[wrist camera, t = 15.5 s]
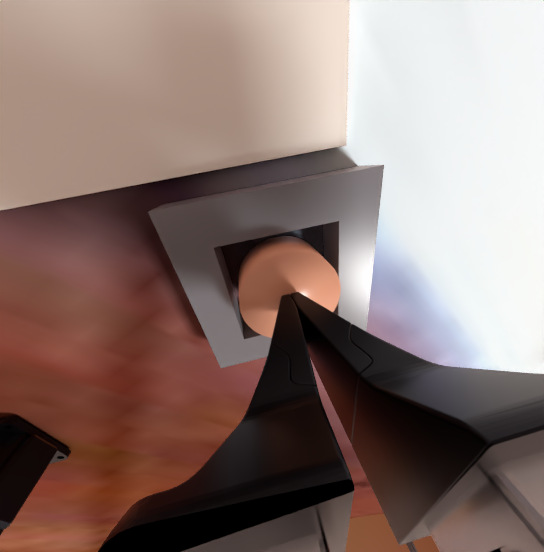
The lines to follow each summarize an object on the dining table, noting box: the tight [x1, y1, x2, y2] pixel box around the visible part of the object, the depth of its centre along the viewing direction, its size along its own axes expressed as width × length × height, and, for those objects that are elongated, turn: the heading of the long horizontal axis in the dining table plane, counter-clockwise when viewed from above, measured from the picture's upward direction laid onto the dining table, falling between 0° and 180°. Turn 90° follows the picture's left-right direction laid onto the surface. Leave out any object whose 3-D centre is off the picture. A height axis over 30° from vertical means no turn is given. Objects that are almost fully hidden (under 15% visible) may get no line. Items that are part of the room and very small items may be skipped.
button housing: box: [148, 165, 384, 368], centre depth 11 cm, size 10×10×2 cm
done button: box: [238, 236, 341, 338], centre depth 11 cm, size 5×5×2 cm
